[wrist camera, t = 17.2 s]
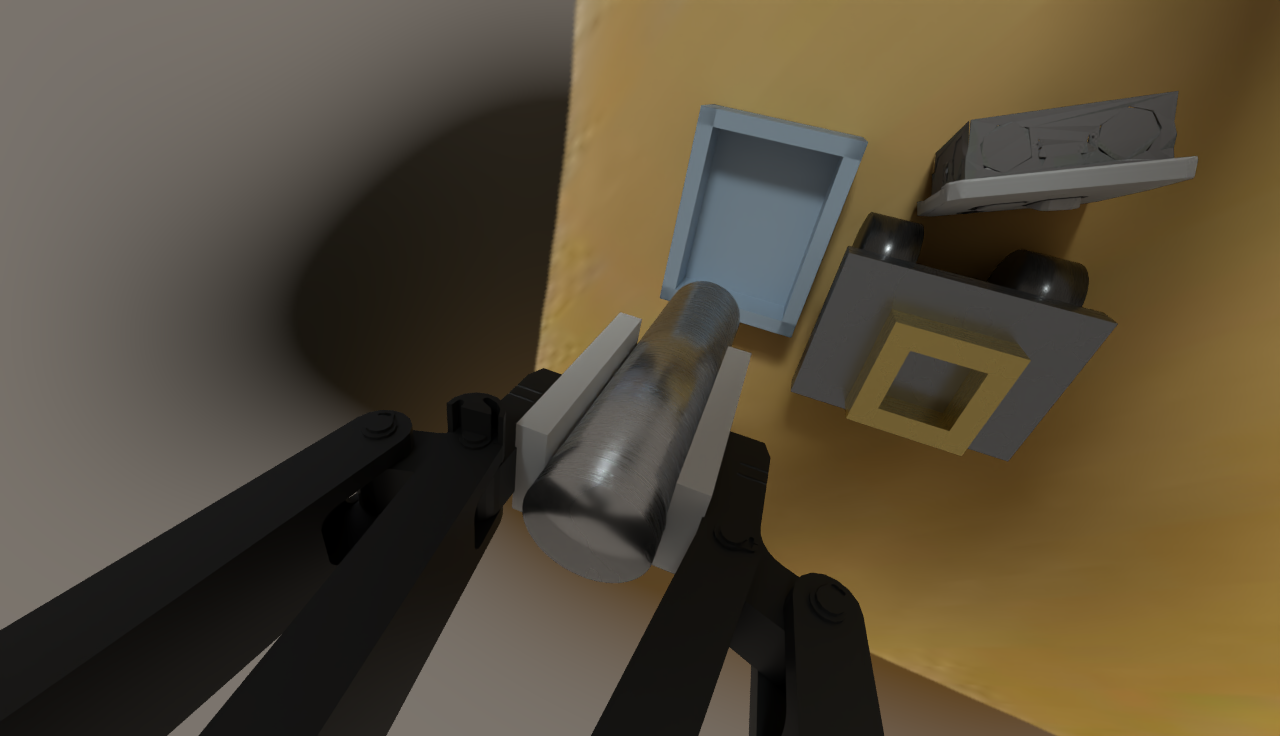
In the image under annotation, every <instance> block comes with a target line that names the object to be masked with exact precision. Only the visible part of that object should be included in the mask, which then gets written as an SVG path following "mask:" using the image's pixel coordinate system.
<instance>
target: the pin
mask: <svg viewBox="0 0 1280 736" xmlns="http://www.w3.org/2000/svg"><path fill="white" fill-rule="evenodd" d="M739 323H740V312H739V307H738V305H737V302H736V300H735V299H734V297H733V296H732V295H731V294H730V293H729V292H728V291H727V290H726V289H725V288H723V287H722V286H720V285H718V284H715V283H712V282H707V281H697V282H692V283H689V284H687V285H685V286H683V287H682V288H680V289H679V290H678V291H677V292H676V293H675V294H674V296H673V297H672V298H671V300H670V301H669V302H668V304H667V305H666V306H665V308H664V309H663V310H662V312H661V313H660V314H659V316H658V317H657V318H656V320H655V321H654V322H653V324H652V325H651V326H650V328H649V329H648V330H647V332H646V333H645V334H644V336H643V337H642V338H641V340H640V341H639V342H638V344H637V345H636V346H635V348H634V349H633V351H632V352H631V353H630V355H629V356H628V357H627V359H626V360H625V361H624V363H623V364H622V365H621V367H620V368H619V369H618V371H617V372H616V373H615V375H614V376H613V377H612V379H611V380H610V381H609V383H608V384H607V385H606V387H605V388H604V389H603V391H602V392H601V393H600V395H599V396H598V397H597V399H596V400H595V401H594V403H593V404H592V405H591V407H590V408H589V409H588V411H587V412H586V413H585V415H584V416H583V417H582V419H581V420H580V421H579V423H578V424H577V425H576V427H575V428H574V429H573V431H572V432H571V433H570V435H569V436H568V437H567V439H566V440H565V441H564V443H563V444H562V445H561V447H560V448H559V449H558V451H557V452H556V453H555V455H554V456H553V457H552V459H551V460H550V461H549V463H548V464H547V465H546V467H545V468H544V469H543V471H542V472H541V473H540V475H539V476H538V477H537V479H536V480H535V481H534V483H533V484H532V485H531V487H530V488H529V489H528V491H527V493H526V494H525V497H524V499H523V505H522V513H523V518H524V522H525V525H526V527H527V529H528V532H529V533H530V535H531V537H532V538H533V540H534V541H535V542H536V544H537V545H538V546H539V547H540V548H541V550H542V551H543V552H544V553H545V554H547V555H548V556H549V557H550V558H551V559H552V560H554V561H555V562H556V563H558V564H559V565H561V566H562V567H564V568H566V569H567V570H569V571H571V572H573V573H575V574H577V575H579V576H582V577H584V578H587V579H591V580H594V581H599V582H605V583H622V582H628V581H632V580H634V579H636V578H638V577H640V576H642V575H643V574H644V573H645V572H646V571H647V570H648V569H649V568H650V566H651V565H652V562H653V560H654V557H655V554H656V552H657V549H658V546H659V544H660V541H661V538H662V535H663V533H664V530H665V526H666V516H667V512H668V509H669V506H670V503H671V499H672V496H673V493H674V489H675V486H676V483H677V480H678V478H679V475H680V472H681V470H682V467H683V464H684V462H685V459H686V456H687V454H688V451H689V449H690V446H691V443H692V441H693V438H694V435H695V433H696V430H697V427H698V425H699V422H700V419H701V417H702V414H703V412H704V409H705V406H706V404H707V401H708V398H709V396H710V393H711V390H712V388H713V385H714V383H715V380H716V377H717V375H718V372H719V369H720V367H721V364H722V361H723V359H724V356H725V353H726V351H727V348H728V346H730V347H731V346H732V343H733V341H734V338H735V335H736V332H737V330H738V327H739Z"/></svg>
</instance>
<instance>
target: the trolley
mask: <svg viewBox="0 0 1280 736" xmlns="http://www.w3.org/2000/svg"><path fill="white" fill-rule="evenodd" d="M923 236H924V227H923V225H922V224H919V223H914V222H910V221H906V220H902V219H898V218H894V217H890V216H886V215H882V214H878V213H874V212H871V213H870V214H869V215H868V216H867V218H866V219H865V221H864V223H863V224H862V226H861V228H860V230H859V232H858V234H857V237H856V239H855V241H854V243H853V246H852V247H851V246H848V247H847V250H846V252H845V254H844V257H843V259H842V261H841V264H840V266H839V269H838V271H837V273H836V276H835V278H834V281H833V283H832V285H831V288H830V290H829V293H828V295H827V297H826V300H825V302H824V305H823V307H822V309H821V312H820V314H819V316H818V319H817V321H816V324H815V326H814V328H813V331H812V333H811V336H810V338H809V340H808V343H807V345H806V348H805V350H804V352H803V355H802V357H801V360H800V362H799V364H798V367H797V369H796V371H795V374H794V376H793V379H792V384H791V392H794V393H797V394H800V395H803V396H807V397H810V398H813V399H816V400H819V401H822V402H825V403H828V404H831V405H834V406H838V407H841V408H844V409H845V412H846V419H849V420H852V421H855V422H858V423H861V424H864V425H867V426H870V427H873V428H877V429H880V430H883V431H886V432H889V433H892V434H895V435H898V436H901V437H904V438H907V439H910V440H913V441H916V442H919V443H923V444H926V445H929V446H932V447H935V448H938V449H941V450H944V451H947V452H950V453H953V454H956V455H959V456H962V455H963V454H964V452H965V451H966V450H967V448H968V449H971V450H974V451H977V452H980V453H983V454H986V455H990V456H993V457H996V458H999V459H1002V460H1005V461H1009V460H1010V458H1011V457H1012V456H1013V455H1014V453H1015V452H1016V451H1017V450H1018V448H1019V447H1020V446H1021V445H1022V443H1023V442H1024V441H1025V440H1026V438H1027V437H1028V436H1029V435H1030V433H1031V432H1032V431H1033V430H1034V428H1035V427H1036V426H1037V425H1038V423H1039V422H1040V421H1041V420H1042V418H1043V417H1044V416H1045V415H1046V413H1047V412H1048V411H1049V410H1050V408H1051V407H1052V406H1053V405H1054V403H1055V402H1056V401H1057V400H1058V398H1059V397H1060V396H1061V395H1062V393H1063V392H1064V391H1065V390H1066V388H1067V387H1068V386H1069V385H1070V383H1071V382H1072V381H1073V380H1074V378H1075V377H1076V376H1077V375H1078V373H1079V372H1080V371H1081V370H1082V368H1083V367H1084V366H1085V365H1086V363H1087V362H1088V361H1089V360H1090V358H1091V357H1092V356H1093V355H1094V353H1095V352H1096V351H1097V350H1098V348H1099V347H1100V346H1101V345H1102V343H1103V342H1104V341H1105V340H1106V338H1107V337H1108V336H1109V335H1110V333H1111V332H1112V331H1113V330H1114V328H1115V327H1116V326H1117V325H1118V324H1117V323H1116V322H1115V321H1114V320H1112V319H1111V318H1110V317H1108V316H1107V315H1106V314H1105V313H1103V312H1099V311H1095V310H1091V309H1088V308H1084V307H1082V305H1083V303H1084V300H1085V298H1086V294H1087V290H1088V284H1089V277H1088V272H1087V270H1086V268H1085V267H1084V266H1083V265H1082V264H1080V263H1076V262H1072V261H1068V260H1064V259H1060V258H1056V257H1052V256H1048V255H1044V254H1040V253H1036V252H1032V251H1028V250H1023V249H1021V250H1017V251H1015V252H1013V253H1011V254H1010V255H1008V256H1007V257H1006V258H1005V259H1004V260H1003V261H1002V262H1001V263H1000V264H999V265H998V267H997V268H996V269H995V270H994V272H993V273H992V275H991V276H990V278H989V280H988V281H987V282H985V281H981V280H977V279H973V278H969V277H966V276H962V275H958V274H954V273H950V272H946V271H943V270H939V269H935V268H931V267H927V266H924V265H920V264H916V261H917V259H918V256H919V253H920V249H921V246H922V242H923Z"/></svg>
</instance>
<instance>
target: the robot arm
mask: <svg viewBox="0 0 1280 736" xmlns="http://www.w3.org/2000/svg"><path fill="white" fill-rule="evenodd" d="M641 321H642V319H640V318H637V317H634V316H630V315H627V314H624V313H621V312H620V313H619V314H618V316H617V317H616V318H615V319H614V320H613V321H612V322H611V323H610V324H609V325H608V326H607V327H606V328H605V329H604V331H603V332H602V333H601V334H600V335H599V336H598V337H597V338H596V339H595V340H594V341H593V342H592V343H591V344H590V345H589V347H588V348H587V349H586V350H585V351H584V352H583V353H582V354H581V355H580V356H579V357H578V358H577V359H576V360H575V362H574V363H573V364H572V365H571V366H570V367H569V368H568V369H567V370H566V371H565V372H564V373H563V374H559V373H556V372H553V371H550V370H547V369H544V368H543V369H541V370H538V371H536V372H533V373H531V374H528V375H527V376H526V377H525V378H524V379H523V380H522V381H521V382H520V383H519V384H518V386H516V387H515V388H513V390H511V392H510V393H509V394H507V395H506V396H505V397H504V398H503V399H502V400H499V399H498V398H497V397H494V396H492V395H489V394H484V393H468V394H463V395H460V396H457V397H454V398H453V399H452V400H450V401H449V402H448V403H447V420H448V432H447V433H432V432H424V431H415V430H413V428H412V423H411V420H410V418H408V417H407V416H406V415H405V414H403V413H400V412H397V411H391V410H379V411H374V412H369V413H367V414H364V415H362V416H360V417H357V418H356V419H354V420H353V421H351V422H349V423H347V424H346V425H344V426H342V427H341V428H339V429H337V430H336V431H334V432H332V433H331V434H329V435H327V436H326V437H324V438H322V439H321V440H319V441H318V442H316V443H314V444H312V445H310V446H309V447H307V448H305V449H304V450H302V451H300V452H299V453H297V454H295V455H294V456H292V457H290V458H289V459H287V460H285V461H284V462H282V463H280V464H279V465H277V466H275V467H274V468H272V469H270V470H268V471H267V472H265V473H263V474H262V475H260V476H259V477H257V478H255V479H253V480H252V481H250V482H249V483H247V484H245V485H243V486H242V487H240V488H238V489H237V490H235V491H233V492H232V493H230V494H228V495H227V496H225V497H223V498H222V499H220V500H218V501H217V502H215V503H213V504H212V505H210V506H208V507H206V508H205V509H203V510H201V511H200V512H198V513H196V514H195V515H193V516H191V517H190V518H188V519H187V520H185V521H183V522H181V523H180V524H178V525H176V526H175V527H173V528H172V529H170V530H168V531H166V532H164V533H163V534H161V535H159V536H158V537H156V538H154V539H153V540H151V541H149V542H148V543H146V544H145V545H143V546H141V547H139V548H138V549H136V550H134V551H133V552H131V553H129V554H128V555H126V556H124V557H123V558H121V559H119V560H118V561H116V562H114V563H113V564H111V565H109V566H107V567H106V568H104V569H103V570H101V571H99V572H97V573H96V574H94V575H92V576H91V577H89V578H87V579H86V580H84V581H82V582H81V583H79V584H77V585H76V586H74V587H72V588H70V589H69V590H67V591H66V592H64V593H62V594H60V595H59V596H57V597H55V598H54V599H52V600H51V601H49V602H47V603H45V604H44V605H42V606H40V607H39V608H37V609H35V610H34V611H32V612H30V613H29V614H27V615H25V616H24V617H22V618H20V619H18V620H17V621H15V622H13V623H12V624H10V625H9V626H7V627H5V628H3V629H2V630H0V736H167V735H168V734H169V733H171V732H172V731H173V730H174V729H175V728H176V727H177V726H178V725H180V724H181V723H182V722H183V721H184V720H185V719H186V718H188V717H189V716H190V715H191V714H192V713H193V712H194V711H195V710H197V709H198V708H199V707H200V706H201V705H202V704H203V703H204V702H206V701H207V700H208V699H209V698H210V697H211V696H212V695H214V694H215V693H216V692H217V691H218V690H219V689H220V688H221V687H223V686H224V685H225V684H226V683H227V682H228V681H229V680H230V679H232V678H233V677H234V676H235V675H236V674H237V673H238V672H239V671H241V670H242V669H243V668H244V667H245V666H246V665H247V664H249V663H250V661H252V660H253V659H254V658H255V657H256V656H258V655H259V654H260V653H261V652H262V651H263V650H264V649H265V648H267V647H268V646H269V645H270V644H271V643H272V642H273V641H275V640H276V639H277V638H278V637H279V636H280V635H281V634H282V635H281V636H280V637H279V638H278V640H277V641H276V642H275V643H274V644H273V646H272V647H271V648H270V649H269V650H268V652H267V653H266V654H265V655H264V657H263V658H262V659H261V660H260V662H259V663H258V664H257V665H256V666H255V668H254V669H253V670H252V671H251V672H250V674H249V675H248V676H247V677H246V678H245V680H244V681H243V682H242V684H241V685H240V686H239V687H238V688H237V690H236V691H235V692H234V693H233V694H232V696H231V697H230V698H229V699H228V700H227V702H226V703H225V704H224V705H223V707H222V708H221V709H220V710H219V711H218V713H217V714H216V715H215V716H214V717H213V719H212V720H211V721H210V722H209V724H208V725H207V726H206V727H205V729H204V730H203V731H202V732H201V734H200V735H199V736H386V735H387V733H388V731H389V729H390V728H391V726H392V724H393V722H394V720H395V718H396V716H397V715H398V713H399V711H400V709H401V707H402V705H403V703H404V702H405V700H406V697H407V696H408V694H409V692H410V690H411V688H412V686H413V684H414V683H415V681H416V679H417V677H418V675H419V673H420V672H421V670H422V668H423V666H424V664H425V662H426V660H427V658H428V657H429V655H430V653H431V651H432V649H433V647H434V645H435V644H436V642H437V640H438V638H439V636H440V634H441V632H442V630H443V629H444V627H445V625H446V623H447V621H448V619H449V617H450V615H451V614H452V612H453V610H454V608H455V606H456V604H457V602H458V601H459V599H460V596H461V595H462V593H463V591H464V589H465V587H466V586H467V584H468V582H469V580H470V578H471V576H472V574H473V572H474V570H475V569H476V567H477V565H478V563H479V561H480V559H481V558H482V556H483V554H484V552H485V550H486V548H487V546H488V544H489V543H490V540H491V539H492V537H493V535H494V533H495V531H496V529H497V528H498V526H499V524H500V521H501V518H502V515H503V505H504V504H505V503H506V501H507V500H508V499H509V497H510V496H511V495H512V494H513V503H512V508H514V509H516V510H519V511H521V512H522V505H523V499H524V497H525V494H526V493H527V491H528V489H529V488H530V487H531V485H532V484H533V483H534V481H535V480H536V479H537V477H538V476H539V475H540V473H541V472H542V471H543V469H544V468H545V467H546V465H547V464H548V463H549V461H550V460H551V459H552V457H553V456H554V455H555V453H556V452H557V451H558V449H559V448H560V447H561V445H562V444H563V443H564V441H565V440H566V439H567V437H568V436H569V435H570V433H571V432H572V431H573V429H574V428H575V427H576V425H577V424H578V423H579V421H580V420H581V419H582V417H583V416H584V415H585V413H586V412H587V411H588V409H589V408H590V407H591V405H592V404H593V403H594V401H595V400H596V399H597V397H598V396H599V395H600V393H601V392H602V391H603V389H604V388H605V387H606V385H607V384H608V383H609V381H610V380H611V379H612V377H613V376H614V375H615V373H616V372H617V371H618V369H619V368H620V367H621V365H622V364H623V363H624V361H625V360H626V359H627V357H628V356H629V355H630V353H631V352H632V351H633V349H634V348H635V346H636V345H637V341H638V336H639V331H640V326H641ZM751 354H752V353H749V352H746V351H742V350H739V349H736V348H733V347H730V346H728V348H727V351H726V353H725V356H724V359H723V361H722V364H721V367H720V369H719V372H718V375H717V377H716V380H715V383H714V385H713V388H712V390H711V393H710V396H709V398H708V401H707V404H706V406H705V409H704V412H703V414H702V417H701V419H700V422H699V425H698V427H697V430H696V433H695V435H694V438H693V441H692V443H691V446H690V449H689V451H688V454H687V456H686V459H685V462H684V464H683V467H682V470H681V472H680V475H679V478H678V480H677V483H676V486H675V489H674V493H673V496H672V499H671V503H670V506H669V509H668V512H667V516H666V526H665V530H664V533H663V535H662V538H661V541H660V544H659V546H658V549H657V552H656V554H655V557H654V560H653V562H652V565H654V566H656V567H658V568H661V569H664V570H666V571H668V572H671V573H673V574H675V575H674V577H673V579H672V581H671V583H670V585H669V587H668V589H667V591H666V592H665V594H664V596H663V598H662V600H661V602H660V604H659V606H658V608H657V610H656V612H655V613H654V615H653V618H652V619H651V621H650V623H649V625H648V627H647V629H646V631H645V633H644V635H643V637H642V638H641V641H640V642H639V645H638V646H637V648H636V650H635V652H634V654H633V656H632V658H631V660H630V662H629V664H628V665H627V667H626V669H625V671H624V673H623V675H622V677H621V679H620V681H619V683H618V685H617V687H616V689H615V691H614V692H613V694H612V696H611V698H610V700H609V702H608V704H607V706H606V708H605V710H604V712H603V714H602V716H601V717H600V720H599V721H598V723H597V725H596V727H595V729H594V731H593V733H592V735H591V736H698V735H699V732H700V729H701V726H702V723H703V721H704V718H705V715H706V712H707V709H708V706H709V703H710V700H711V697H712V694H713V692H714V689H715V686H716V683H717V680H718V677H719V674H720V671H721V669H722V666H723V663H724V660H725V657H726V654H727V651H728V649H729V647H730V648H731V649H733V650H734V651H735V652H736V653H738V654H739V655H740V656H741V657H742V658H743V659H745V660H746V661H747V662H748V663H749V664H751V688H750V718H749V736H884V732H883V726H882V720H881V715H880V708H879V703H878V697H877V691H876V686H875V680H874V675H873V669H872V663H871V657H870V651H869V646H868V640H867V634H866V628H865V623H864V617H863V614H862V611H861V608H860V606H859V603H858V601H857V600H856V599H855V597H854V596H853V595H852V593H851V592H850V591H849V590H848V589H847V588H846V587H845V586H843V585H842V584H841V583H840V582H838V581H837V580H835V579H833V578H831V577H829V576H827V575H824V574H817V573H809V574H805V575H802V576H801V577H798V576H797V575H795V574H794V573H792V572H791V571H790V570H788V569H787V568H785V567H784V566H783V565H781V564H780V563H779V562H778V561H777V560H775V559H774V558H773V556H772V555H771V554H770V553H769V552H768V550H767V549H766V547H765V545H764V543H763V541H762V537H761V520H762V513H763V506H764V499H765V493H766V484H767V479H768V472H769V465H770V455H769V453H768V450H767V448H766V445H765V443H763V442H760V441H757V440H754V439H751V438H748V437H745V436H742V435H739V434H736V433H734V432H731V431H730V429H731V426H732V422H733V419H734V415H735V411H736V408H737V404H738V401H739V397H740V393H741V390H742V386H743V383H744V379H745V375H746V372H747V368H748V364H749V361H750V357H751ZM355 492H357V493H356V494H354V493H355ZM353 494H354V495H353ZM351 495H353V496H351ZM350 496H351V497H350ZM349 497H350V498H349Z"/></svg>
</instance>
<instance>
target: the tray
mask: <svg viewBox="0 0 1280 736" xmlns="http://www.w3.org/2000/svg"><path fill="white" fill-rule="evenodd" d="M867 144H868V142H867V141H866V140H865V139H864V138H863V137H860V136H855V135H851V134H846V133H841V132H837V131H832V130H828V129H823V128H819V127H814V126H810V125H805V124H801V123H796V122H792V121H787V120H783V119H778V118H774V117H769V116H765V115H760V114H755V113H751V112H746V111H742V110H737V109H733V108H728V107H724V106H719V105H715V104H710V105H701V109H700V113H699V118H698V123H697V127H696V132H695V137H694V141H693V146H692V151H691V155H690V160H689V165H688V169H687V174H686V179H685V183H684V188H683V193H682V197H681V202H680V206H679V211H678V216H677V220H676V225H675V230H674V234H673V239H672V244H671V248H670V253H669V258H668V262H667V267H666V272H665V276H664V281H663V286H662V290H661V295H660V298H661V299H665V300H668V301H670V300H671V298H672V297H673V296H674V294H675V293H676V292H677V291H678V290H679V289H680V288H682V287H683V286H685V285H687V284H689V283H692V282H697V281H707V282H712V283H715V284H718V285H720V286H722V287H723V288H725V289H726V290H727V291H728V292H729V293H730V294H731V295H732V296H733V297H734V299H735V300H736V302H737V305H738V307H739V312H740V322H741V323H744V324H747V325H751V326H754V327H757V328H761V329H764V330H767V331H770V332H774V333H777V334H780V335H784V336H787V337H790V338H791V337H792V334H793V331H794V329H795V326H796V324H797V321H798V319H799V316H800V314H801V311H802V309H803V306H804V304H805V301H806V299H807V296H808V293H809V291H810V288H811V286H812V283H813V281H814V278H815V276H816V273H817V271H818V268H819V266H820V263H821V261H822V258H823V255H824V253H825V250H826V248H827V245H828V243H829V240H830V238H831V235H832V233H833V230H834V228H835V225H836V222H837V220H838V217H839V215H840V212H841V210H842V207H843V205H844V202H845V200H846V197H847V195H848V192H849V190H850V187H851V184H852V182H853V179H854V177H855V174H856V172H857V169H858V167H859V164H860V162H861V159H862V157H863V154H864V151H865V149H866V146H867Z"/></svg>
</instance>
